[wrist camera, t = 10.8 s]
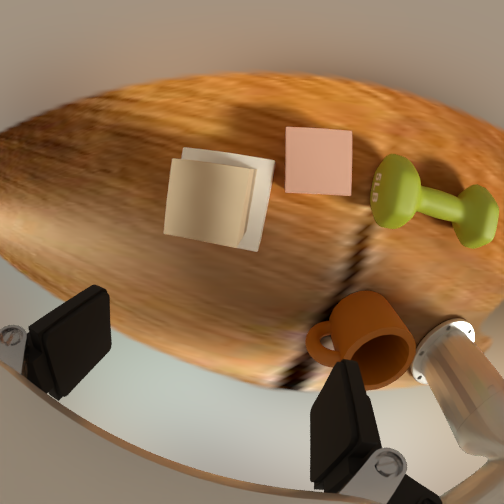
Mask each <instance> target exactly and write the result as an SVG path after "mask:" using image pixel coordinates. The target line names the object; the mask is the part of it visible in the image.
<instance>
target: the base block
mask: <svg viewBox="0 0 504 504" xmlns="http://www.w3.org/2000/svg"><path fill="white" fill-rule="evenodd" d="M181 159H186V160H196V161H204V162H211V163H219V164H226V165H232V166H239V167H245V168H251V169H257V174H256V179H255V185H254V190H253V196H252V202H251V207H250V213H249V219H248V225H247V230H246V233H245V234H244V236H243V238H242V239H241V241H240V243H239V245H238V246H237V248H240V249H245V250H250V251H255V252H258V249H259V246H260V242H261V238H262V233H263V228H264V223H265V218H266V212H267V207H268V202H269V197H270V191H271V186H272V181H273V175H274V170H275V165H276V162H275V160H269V159H264V158H258V157H252V156H246V155H240V154H233V153H227V152H219V151H212V150H204V149H195V148H186V147H183V152H182V158H181Z"/></svg>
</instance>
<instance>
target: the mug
mask: <svg viewBox="0 0 504 504" xmlns="http://www.w3.org/2000/svg"><path fill="white" fill-rule="evenodd" d="M327 335H331V338H332V342H333V345H334V349H335V351H334V350H330V349H327V348H325V347H324V346H323V345H321V343H320V339H321V338H322V337H324V336H327ZM306 348H307V351H308V353H309V354H310V356H311V357H312V358H313V359H314V360H315V361H317V362H318V363H320V364H322V365H324V366H328V367H334V365H335V364H336V362H341V360H342V359H348V360H353V361H357V362H358V365H359V368H360V372H361V376H362V379H363V383H364V386H365V390H375V389H379V388H381V387H384V386H387V385H389V384H391V383H392V382H394V381H396V380H397V379H398V378H399V377H401V376H402V375H403V374H404V373H405V372H406V371H407V369H408V368H409V366H410V365H411V363H412V362H413V359H414V356H415V353H416V343H415V340H414V338H413V336H412V334H411V333H410V331H409V330H408V329H407V327H406V326H405V324H404V323H403V321H402V320H401V319H400V317H399V316H398V315H397V313H396V312H395V310H394V309H393V308H392V306H391V305H390V304H389V302H388V301H387V300H386V298H384V297H383V296H382V295H381V294H379V293H376V292H373V291H359V292H355V293H352V294H350V295H348V296H347V297H345V298H344V299H342V300H341V301H340V302H339V303H338V304H337V305H336V306H335V308H334V309H333V311H332V313H331V315H330V318H329V321H324V322H320V323H318V324H316V325H314V326H313V327H312V328H311V329H310V330H309V332H308V334H307V336H306Z"/></svg>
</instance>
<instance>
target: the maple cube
mask: <svg viewBox="0 0 504 504" xmlns="http://www.w3.org/2000/svg"><path fill="white" fill-rule="evenodd" d="M256 174H257V169H251V168H245V167H239V166H232V165H226V164H219V163H211V162H204V161H196V160H186V159H175V158H172V164H171V171H170V178H169V186H168V194H167V203H166V212H165V223H164V234H168V235H173V236H178V237H183V238H188V239H193V240H198V241H203V242H208V243H213V244H218V245H223V246H228V247H233V248H237V246H238V245H239V243H240V241H241V239H242V238H243V236H244V234H245V233H246V230H247V225H248V219H249V213H250V207H251V202H252V196H253V190H254V185H255V179H256Z"/></svg>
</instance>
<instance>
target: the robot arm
mask: <svg viewBox="0 0 504 504" xmlns="http://www.w3.org/2000/svg"><path fill="white" fill-rule="evenodd" d="M474 338H475V337H474V329H473V327H472V326H471V324H470V323H469V322H467V321H466V320H464V319H460V318H456V319H451V320H447V321H445V322H443V323H441V324H440V325H438V326H437V327H435V328H434V329H433V330H432V331H430V332H429V333H428V334H427V335H426V336H425V337H424V338H423V340H422V341H421V342H420V343H419V345H418V347H417V348H416V353H415V356H414V359H413V362H412V363H411V367H410V369H411V373H412V375H413V377H414V379H415V380H416V381H418V382H419V383H422V384H429V386H430V388H431V390H432V392H433V394H434V396H435V398H436V400H437V401H438V403H439V405H440V407H441V409H442V411H443V413H444V415H445V417H446V419H447V421H448V423H449V426H450V428H451V430H452V432H453V434H454V436H455V438H456V440H457V443H458V445H459V447H460V448H461V449H462V450H463V451H464V452H465V453H467V454H471V455H475V456H485V457H487V458H488V461H487V462H486V463H485V464H484V465H483V466H482V467H481V468H480V469H479V470H478V471H476V472H475V473H474V474H472V475H471V476H470V477H468V478H467V479H465V480H464V481H462V482H461V483H460V484H458V485H456V486H455V487H453V488H452V489H450V490H449V491H447V492H446V493H444V494H443V495H441V496H440V497H439V496H438V495H437V494H435V493H434V492H432V491H430V490H429V489H427V488H426V487H424V486H422V485H421V484H419V483H418V482H417V481H415V480H414V479H412V478H411V477H409V476H408V475H406V474H405V473H406V471H407V462H406V460H405V458H404V457H403V455H402V454H401V453H399V452H398V451H397V450H394V449H391V448H382V446H381V441H380V437H379V433H378V429H377V424H376V420H375V416H374V412H373V408H372V405H371V401H370V398H369V396H367V395H366V390H365V386H364V383H363V379H362V376H361V372H360V368H359V365H358V362H357V361H353V360H348V359H342V360H341V362H336V364H335V365H334V367H333V369H332V371H331V373H330V375H329V377H328V379H327V381H326V383H325V384H324V386H323V388H322V390H321V392H320V393H319V395H318V397H317V399H316V401H315V402H314V404H313V406H312V408H311V412H310V438H311V439H310V444H311V445H310V454H311V455H310V456H311V458H310V481H311V482H314V489H319V490H324V493H323V492H313V491H303V490H294V489H286V488H279V487H272V486H266V485H260V484H255V483H250V482H244V481H239V480H235V479H231V478H227V477H223V476H218V475H215V474H211V473H208V472H204V471H201V470H197V469H195V468H192V467H188V466H185V465H182V464H179V463H177V462H174V461H171V460H168V459H166V458H163V457H161V456H158V455H156V454H153V453H151V452H148V451H146V450H144V449H141V448H139V447H137V446H135V445H133V444H130V443H128V442H126V441H124V440H122V439H120V438H118V437H116V436H114V435H112V434H110V433H108V432H107V431H105V430H103V429H101V428H99V427H97V426H96V425H94V424H92V423H90V422H89V421H87V420H85V419H83V418H82V417H80V416H79V415H77V414H76V413H74V412H72V411H71V410H69V409H68V408H66V407H65V406H63V405H62V404H60V403H59V402H57V401H56V400H55V399H57V400H58V401H59V400H60V399H61V398H62V397H63V396H64V397H65V396H67V395H68V394H69V393H70V392H71V391H72V390H73V388H75V387H76V385H77V384H78V383H79V382H80V381H81V380H82V379H83V378H84V377H85V376H86V375H87V374H88V373H89V372H90V370H92V369H93V368H94V366H95V365H96V364H97V363H98V362H99V361H100V360H101V359H102V358H103V357H104V356H105V355H106V354H107V353H108V352H109V351H110V349H111V344H112V343H111V328H110V299H109V294H108V293H107V290H106V289H104V288H102V287H100V286H97V285H92V286H90V287H88V288H87V289H85V290H84V291H82V292H80V293H79V294H77V295H76V296H74V297H73V298H71V299H69V300H68V301H66V302H65V303H63V304H62V305H60V306H59V307H57V308H55V309H54V310H52V311H51V312H50V313H48V314H46V315H45V316H43V317H42V318H40V319H39V320H37V321H36V322H35V323H33V324H32V325H30V326H29V333H26V331H25V330H24V329H23V328H22V327H20V326H17V325H8V326H5V327H3V328H2V329H0V504H504V379H503V378H502V376H501V375H500V374H499V372H498V371H497V370H496V368H495V367H494V366H493V365H492V364H491V362H490V361H489V360H488V359H487V357H486V356H485V355H484V353H483V352H481V350H480V349H479V348H478V347H477V346H476V345H475V343H474ZM48 392H49V394H50V395H51V396H52V397H54V398H55V399H53V398H52V397H50V396H49V395H47V393H48Z"/></svg>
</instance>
